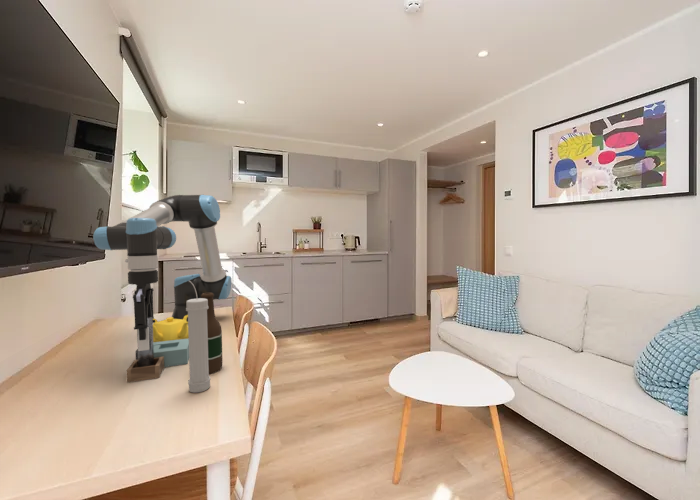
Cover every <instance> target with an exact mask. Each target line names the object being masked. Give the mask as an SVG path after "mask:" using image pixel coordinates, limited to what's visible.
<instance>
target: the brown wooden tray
mask: <svg viewBox="0 0 700 500" xmlns="http://www.w3.org/2000/svg"><path fill="white" fill-rule="evenodd" d="M164 370H165V367H164V356H163V357H155V358H154V365H152V366H144V367H138V360H136V359H134V360H133V361H132V363H131V364H130V365H129V366H128V368H127V369H126V383H134V382H140V381H147V380H152V379H153V380H154V379H159V378H161V375H162V374H163V371H164Z"/></svg>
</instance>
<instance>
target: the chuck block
mask: <svg viewBox="0 0 700 500" xmlns="http://www.w3.org/2000/svg"><path fill="white" fill-rule="evenodd" d="M153 346H154V358H155V357H163V356H164V368H166V367H167V368H168V367H173V366H174V367H175V366H180V365H188V364H189V338H188V339H179V340H170V341H161V342H153Z"/></svg>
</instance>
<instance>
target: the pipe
mask: <svg viewBox="0 0 700 500" xmlns="http://www.w3.org/2000/svg"><path fill="white" fill-rule="evenodd" d="M189 282H191V281H189ZM191 284H192V285H193V283H192V282H191ZM193 286H194V285H193ZM194 289H195V287H194ZM195 292H196V289H195ZM196 297H197V292H196ZM186 305H187V308H186V311H188V335H189V360H188V365H189V379H188V381H187V382H188V383H187V384H188V391H189V392H191V393H202V392H204V391H207V390H208V389H210V387H211V376H210V374H209V366H208V329H207V309H209V306H208V300H207V299H205V298H197V299H190V300H188V301H187V302H186Z"/></svg>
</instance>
